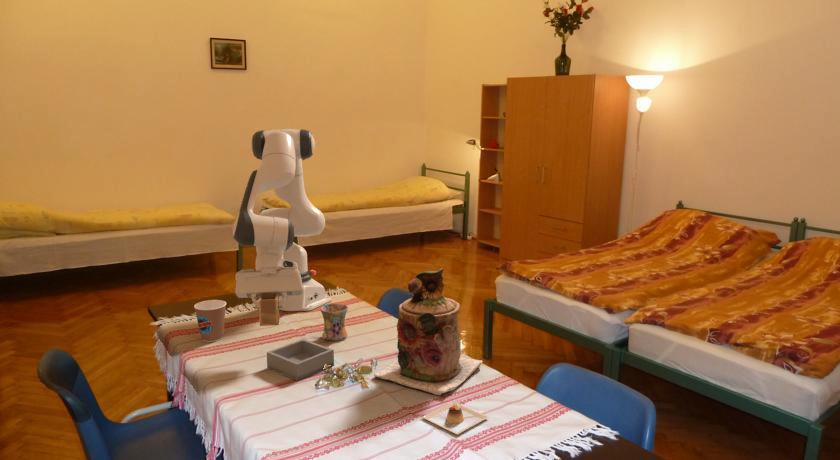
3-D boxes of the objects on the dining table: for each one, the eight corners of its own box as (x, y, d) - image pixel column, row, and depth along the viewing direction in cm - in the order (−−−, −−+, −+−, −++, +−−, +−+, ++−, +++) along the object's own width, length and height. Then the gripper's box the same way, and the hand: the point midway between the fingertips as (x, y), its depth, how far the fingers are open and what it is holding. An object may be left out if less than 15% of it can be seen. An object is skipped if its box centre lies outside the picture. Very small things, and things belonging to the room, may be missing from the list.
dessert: (421, 421, 152) (421, 403, 151) (453, 405, 160) (453, 388, 159) (457, 439, 144) (457, 420, 143) (488, 421, 152) (489, 403, 151)
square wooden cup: (261, 319, 188) (260, 294, 186) (279, 318, 189) (278, 293, 187) (259, 326, 182) (258, 300, 181) (278, 325, 183) (277, 299, 182)
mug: (353, 338, 205) (353, 308, 203) (330, 345, 199) (330, 314, 197) (334, 328, 214) (333, 300, 212) (311, 335, 208) (310, 305, 206)
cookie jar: (415, 350, 195) (415, 254, 189) (484, 367, 183) (487, 264, 177) (370, 379, 174) (369, 271, 168) (445, 400, 162) (447, 284, 156)
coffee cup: (189, 340, 203) (187, 306, 200) (213, 330, 212) (210, 297, 209) (212, 346, 198) (209, 311, 196) (235, 336, 207) (233, 302, 205)
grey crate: (303, 353, 192) (303, 338, 191) (334, 365, 183) (333, 349, 182) (267, 367, 181) (266, 352, 180) (297, 380, 173) (297, 364, 172)
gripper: (234, 264, 188) (232, 304, 180) (301, 262, 191) (302, 301, 184) (236, 275, 193) (234, 314, 185) (302, 272, 197) (303, 310, 189)
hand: (269, 307), depth 185 cm, fingers closed on square wooden cup, 5 cm apart
